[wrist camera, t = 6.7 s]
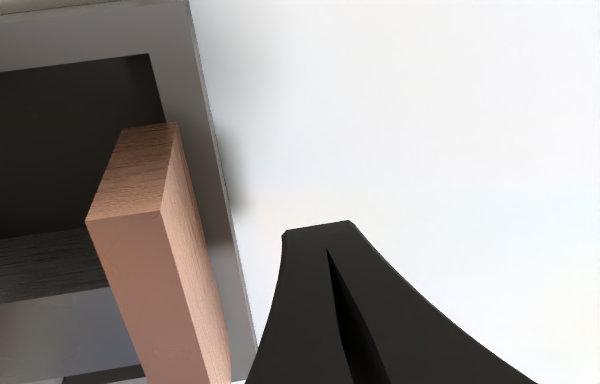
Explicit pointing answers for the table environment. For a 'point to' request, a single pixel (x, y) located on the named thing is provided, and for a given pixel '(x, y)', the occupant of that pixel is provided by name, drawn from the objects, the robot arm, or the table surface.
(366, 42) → the table surface
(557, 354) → the table surface
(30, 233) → the pit trap
